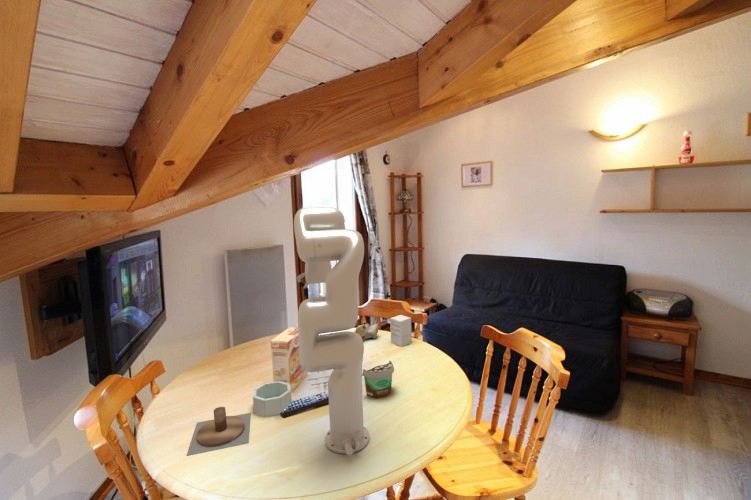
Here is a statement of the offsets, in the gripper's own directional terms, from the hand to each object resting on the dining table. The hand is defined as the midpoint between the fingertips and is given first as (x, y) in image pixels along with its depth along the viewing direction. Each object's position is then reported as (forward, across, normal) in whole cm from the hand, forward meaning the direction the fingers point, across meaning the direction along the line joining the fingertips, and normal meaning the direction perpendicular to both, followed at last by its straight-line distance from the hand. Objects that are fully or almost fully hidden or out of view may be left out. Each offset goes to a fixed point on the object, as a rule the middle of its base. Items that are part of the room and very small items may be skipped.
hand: (319, 296), depth 142 cm
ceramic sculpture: (+32, +25, +29) cm, 50 cm away
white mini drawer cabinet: (+32, +40, +17) cm, 54 cm away
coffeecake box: (+32, -13, -5) cm, 34 cm away
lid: (+31, -35, -30) cm, 55 cm away
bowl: (+31, -20, -20) cm, 42 cm away
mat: (+31, -35, -30) cm, 56 cm away
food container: (+31, +17, -25) cm, 44 cm away
